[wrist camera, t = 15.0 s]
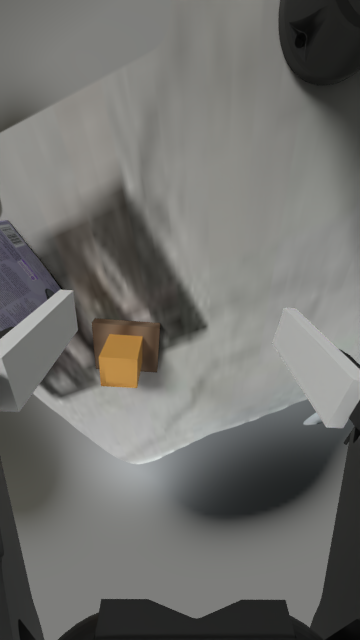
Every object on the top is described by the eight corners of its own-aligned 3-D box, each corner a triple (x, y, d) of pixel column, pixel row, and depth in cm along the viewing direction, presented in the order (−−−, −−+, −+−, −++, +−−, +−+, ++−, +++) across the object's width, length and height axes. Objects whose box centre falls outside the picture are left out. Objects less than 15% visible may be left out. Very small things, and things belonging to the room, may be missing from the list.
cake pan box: (-18, 226, 42) (-134, 245, 26) (3, 212, 41) (-104, 223, 25) (55, 313, 50) (1, 367, 34) (75, 303, 49) (27, 354, 33)
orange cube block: (142, 336, 50) (137, 359, 43) (142, 362, 54) (137, 387, 47) (109, 334, 50) (98, 357, 43) (110, 360, 53) (101, 385, 46)
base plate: (160, 323, 51) (159, 327, 49) (157, 366, 57) (156, 372, 55) (94, 318, 50) (91, 322, 49) (98, 363, 56) (96, 368, 54)
